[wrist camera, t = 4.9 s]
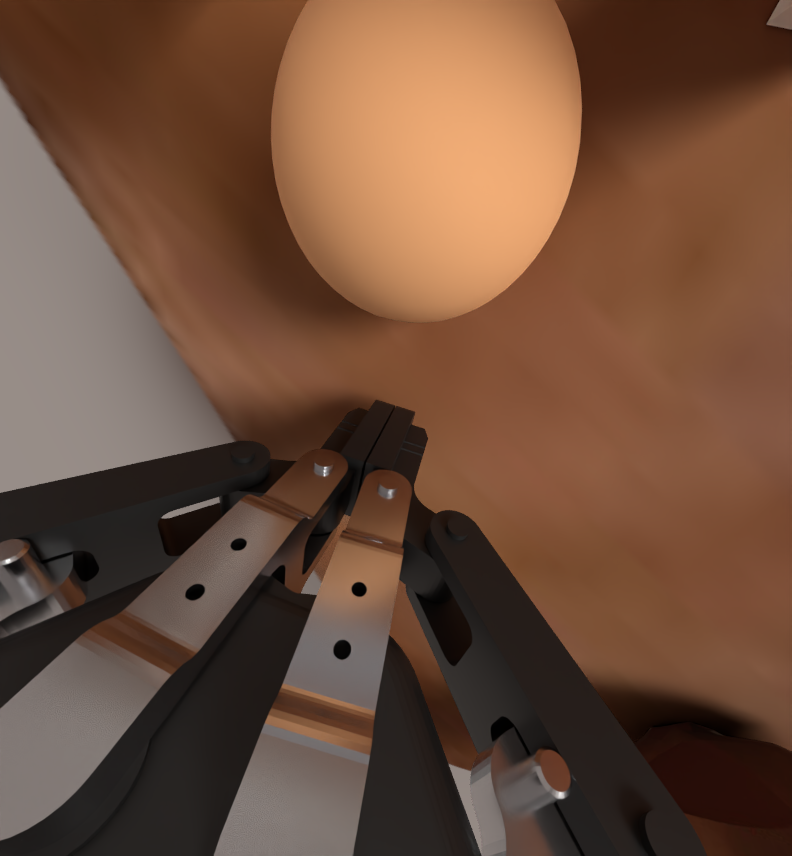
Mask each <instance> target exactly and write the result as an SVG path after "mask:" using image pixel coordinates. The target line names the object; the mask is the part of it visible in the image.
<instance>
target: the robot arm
mask: <svg viewBox="0 0 792 856" xmlns="http://www.w3.org/2000/svg"><path fill="white" fill-rule="evenodd" d="M414 416H415V412H414V411H411V410H408V409H404V408H401V407H398V406H396V408H395V405H392V404H388V403H385V402H382V401H379V400H376V401H375V402H374V403H373V405H372V406H371V408H370V409H369V411H367V410H364V409H361V408H357V409H355V410H353V411H351V412H349V413H348V414H347V415H346V416H345V418H344V419H343V420H342V422H341V423H340V424H339V425H338V427H337V428H336V429H335V431H334V432H333V433H332V435H331V436H330V437H329V438H328V440H327V441H326V442H325V444H324V445H323V446H322V448H321V449H316V450H312V451H309V452H307V453H305V454H304V455H303V456H302V457H301V458H300V459H299V460H298V461H285V460H274V459H270V452H269V450H268V449H267V448H266V447H265V446H264V445H262V444H260V443H257V442H253V441H237V442H232V443H228V444H223V445H218V446H214V447H209V448H205V449H200V450H195V451H191V452H186V453H182V454H177V455H172V456H168V457H163V458H159V459H154V460H150V461H145V462H140V463H136V464H131V465H126V466H122V467H117V468H113V469H108V470H104V471H99V472H94V473H90V474H86V475H81V476H76V477H72V478H67V479H62V480H58V481H53V482H48V483H44V484H39V485H35V486H30V487H26V488H21V489H16V490H12V491H7V492H3V493H0V856H707V854H706V852H705V849H704V847H703V845H702V843H701V841H700V839H699V837H698V835H697V833H696V832H695V830H694V828H693V826H692V825H691V823H690V822H689V820H688V819H687V817H686V816H685V814H684V813H683V811H682V810H681V809H680V807H679V806H678V805H677V803H676V802H675V800H674V799H673V798H672V796H671V795H670V793H669V792H668V791H667V789H666V788H665V786H664V785H663V784H662V782H661V781H660V779H659V778H658V777H657V775H656V774H655V772H654V771H653V770H652V768H651V767H650V765H649V764H648V763H647V761H646V760H645V759H644V757H643V756H642V754H641V753H640V752H639V750H638V749H637V747H636V746H635V745H634V743H633V742H632V740H631V739H630V738H629V736H628V735H627V733H626V732H625V731H624V729H623V728H622V726H621V725H620V724H619V722H618V721H617V719H616V718H615V717H614V715H613V714H612V712H611V711H610V710H609V708H608V707H607V706H606V704H605V703H604V701H603V700H602V699H601V697H600V696H599V694H598V693H597V692H596V690H595V689H594V687H593V686H592V685H591V683H590V682H589V680H588V679H587V678H586V676H585V675H584V673H583V672H582V671H581V669H580V668H579V666H578V665H577V664H576V662H575V661H574V660H573V658H572V657H571V655H570V654H569V653H568V651H567V650H566V648H565V647H564V646H563V644H562V643H561V641H560V640H559V639H558V637H557V636H556V634H555V633H554V632H553V630H552V629H551V627H550V626H549V625H548V623H547V622H546V620H545V619H544V618H543V616H542V615H541V613H540V612H539V611H538V609H537V608H536V607H535V605H534V604H533V602H532V601H531V600H530V598H529V597H528V595H527V594H526V593H525V591H524V590H523V588H522V587H521V586H520V584H519V583H518V581H517V580H516V579H515V577H514V576H513V574H512V573H511V572H510V570H509V569H508V567H507V566H506V565H505V563H504V562H503V561H502V559H501V558H500V556H499V555H498V554H497V552H496V551H495V549H494V548H493V547H492V545H491V544H490V542H489V541H488V540H487V538H486V537H485V535H484V534H483V533H482V531H481V530H480V528H479V527H478V526H477V524H476V523H475V522H474V521H473V520H472V519H470V518H469V517H468V516H466V515H464V514H462V513H460V512H457V511H452V510H445V511H441V512H438V513H437V514H435V513H434V512H432V511H431V510H429V509H428V508H426V507H425V506H424V505H423V504H422V503H421V502H420V501H419V500H418V498H417V497H416V495H415V492H414V483H415V480H416V476H417V473H418V470H419V466H420V463H421V460H422V456H423V453H424V450H425V447H426V443H427V440H428V437H427V434H426V431H425V429H423V428H420V427H417V426H414V425H412V423H413V419H414ZM216 497H219V498H220V503H217V504H214V505H211V506H207V507H204V508H201V509H198V510H195V511H192V512H188V513H185V514H182V515H179V516H176V517H172V518H167V519H162V518H161V517H162V516H163V515H165V514H166V513H168V512H170V511H173V510H176V509H180V508H183V507H186V506H190V505H193V504H196V503H200V502H203V501H206V500H209V499H213V498H216ZM344 514H345V515H348V516H350V519H349V522H348V524H347V527H346V529H345V531H344V530H343V531H342V533H341V535H340V537H339V540H338V542H337V545H336V548H335V550H334V553H333V555H332V558H331V560H330V563H329V566H328V568H327V571H326V573H325V576H324V579H323V581H322V584H321V586H320V589H319V591H318V594H317V595H310V594H301V591H302V588H303V587H304V584H305V583H306V581H307V579H308V577H309V576H310V574H311V573H312V571H313V570H314V568H315V566H316V565H317V563H318V561H319V560H320V558H321V557H322V555H323V553H324V552H325V550H326V549H327V547H328V545H329V544H330V542H331V541H332V539H333V537H334V536H335V534H336V531H337V526H338V525H339V523H340V521H341V519H342V517H343V516H344ZM399 580H401V581H402V582H403V583H404V584H406V592H407V595H408V598H409V600H410V602H411V605H412V607H413V609H414V611H415V613H416V616H417V618H418V620H419V622H420V625H421V627H422V629H423V631H424V634H425V636H426V638H427V640H428V643H429V645H430V647H431V649H432V651H433V654H434V656H435V658H436V660H437V663H438V665H439V667H440V669H441V672H442V674H443V676H444V678H445V681H446V683H447V685H448V687H449V689H450V692H451V694H452V696H453V698H454V701H455V703H456V705H457V707H458V710H459V712H460V714H461V716H462V719H463V721H464V723H465V725H466V727H467V730H468V732H469V734H470V736H471V739H472V741H473V743H474V745H475V748H476V750H477V752H478V756H477V757H476V759H475V761H474V764H473V767H472V771H471V777H470V789H471V798H472V803H473V807H474V810H475V814H476V817H477V820H478V824H479V829H480V834H481V843H482V855H481V853H480V850H479V847H478V844H477V842H476V839H475V836H474V833H473V831H472V828H471V825H470V822H469V820H468V817H467V814H466V811H465V809H464V806H463V803H462V801H461V798H460V795H459V792H458V789H457V787H456V784H455V781H454V778H453V776H452V773H451V770H450V767H449V764H448V762H447V759H446V756H445V753H444V751H443V748H442V745H441V742H440V740H439V737H438V734H437V731H436V729H435V726H434V723H433V720H432V718H431V715H430V712H429V709H428V707H427V704H426V701H425V698H424V695H423V693H422V690H421V687H420V684H419V682H418V679H417V676H416V674H415V671H414V669H413V667H412V665H411V663H410V661H409V659H408V658H407V656H406V655H405V653H404V652H403V650H402V649H401V648H400V646H399V645H398V644H397V643H396V641H395V640H394V639H393V638H392V637H391V636H390V635H389V632H390V626H391V620H392V615H393V609H394V604H395V598H396V592H397V587H398V581H399Z"/></svg>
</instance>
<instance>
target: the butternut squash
mask: <svg viewBox="0 0 792 856" xmlns="http://www.w3.org/2000/svg"><path fill="white" fill-rule="evenodd" d="M634 745H635V746H636V747H637V749H638V750H639V752H640V753H641V754H642V756H643V757H644V759H645V760H646V761H647V763H648V764H649V765H650V767H651V768H652V770H653V771H654V772H655V774H656V775H657V777H658V778H659V779H660V781H661V782H662V784H663V785H664V786H665V788H666V789H667V791H668V792H669V793H670V795H671V796H672V798H673V799H674V800H675V802H676V803H677V805H678V806H679V807H680V809H681V810H682V811H683V813H684V814H685V816H686V817H687V819H688V820H689V822H690V823H691V825H692V826H693V828H694V830H695V832H696V833H697V835H698V837H699V839H700V841H701V843H702V845H703V847H704V849H705V852H706V854H707V856H792V751H789V750H787V749H785V748H783V747H781V746H778V745H776V744H773V743H768V742H762V741H757V740H751V739H744V738H737V737H729V736H724V735H722V734H720V733H718V732H716V731H714V730H712V729H709V728H706V727H703V726H700V725H698V724H695V723H692V722H685V723H679V724H674V725H668V726H662V727H651V728H650V729H649V730H648V731H647V733H646V734H645V735H644V736H643V737H641V738H640V739H639V740H638V741H637V742H635V743H634Z"/></svg>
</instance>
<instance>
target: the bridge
mask: <svg viewBox="0 0 792 856" xmlns="http://www.w3.org/2000/svg"><path fill="white" fill-rule="evenodd" d="M766 25H771V26H776V27H781V28H786V29H791V30H792V0H780V1H779V2H778V4H777V6H776V8H775V10H774V11H773V13H772V15H771V17H770V19H769V20H768V22H767V24H766Z"/></svg>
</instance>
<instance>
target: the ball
mask: <svg viewBox="0 0 792 856" xmlns="http://www.w3.org/2000/svg"><path fill="white" fill-rule="evenodd" d="M581 118H582V100H581V83H580V75H579V70H578V64H577V59H576V53H575V49H574V46H573V43H572V40H571V37H570V34H569V31H568V28H567V25H566V22H565V20H564V18H563V16H562V14H561V12H560V10H559V8H558V6H557V4H556V2H555V0H308V1H307V3H306V5H305V6H304V8H303V10H302V11H301V13H300V15H299V17H298V19H297V21H296V23H295V26H294V28H293V30H292V32H291V34H290V37H289V39H288V42H287V45H286V48H285V51H284V54H283V57H282V60H281V63H280V67H279V71H278V76H277V80H276V85H275V90H274V98H273V106H272V116H271V147H272V162H273V168H274V174H275V180H276V185H277V189H278V193H279V197H280V201H281V204H282V207H283V210H284V212H285V215H286V218H287V221H288V223H289V226H290V228H291V230H292V232H293V234H294V236H295V238H296V241H297V243H298V245H299V246H300V248H301V250H302V251H303V253H304V254H305V256H306V258H307V259H308V261H309V262H310V263H311V265H312V266H313V267H314V269H315V270H316V271H317V272H318V274H319V275H320V276H321V277H322V278H323V279H324V280H325V281H326V282H327V283H328V284H329V285H330V286H331V287H332V288H333V289H334V290H335V291H337V292H338V293H339V294H340V295H342V296H343V297H344V298H345V299H347V300H348V301H350V302H351V303H353V304H354V305H356V306H358V307H359V308H361V309H363V310H365V311H367V312H370V313H372V314H374V315H377V316H380V317H383V318H387V319H390V320H396V321H403V322H409V323H428V322H436V321H443V320H447V319H450V318H454V317H458V316H461V315H463V314H465V313H468V312H470V311H473V310H475V309H477V308H478V307H480V306H482V305H484V304H485V303H487V302H489V301H491V300H492V299H493V298H495V297H496V296H497V295H499V294H500V293H501V292H503V291H504V290H506V289H507V288H508V287H509V286H510V285H511V284H512V283H513V282H514V281H515V280H516V279H517V278H518V277H519V276H521V274H522V273H523V272H524V271H525V270H526V269H527V267H528V266H529V265H530V264H531V263H532V261H533V260H534V259H535V258H536V256H537V255H538V253H539V252H540V250H541V249H542V247H543V246H544V244H545V243H546V241H547V240H548V238H549V236H550V234H551V233H552V231H553V229H554V227H555V225H556V223H557V221H558V219H559V217H560V215H561V212H562V210H563V207H564V205H565V202H566V200H567V197H568V194H569V191H570V187H571V184H572V180H573V177H574V173H575V170H576V164H577V158H578V152H579V146H580V135H581Z"/></svg>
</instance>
